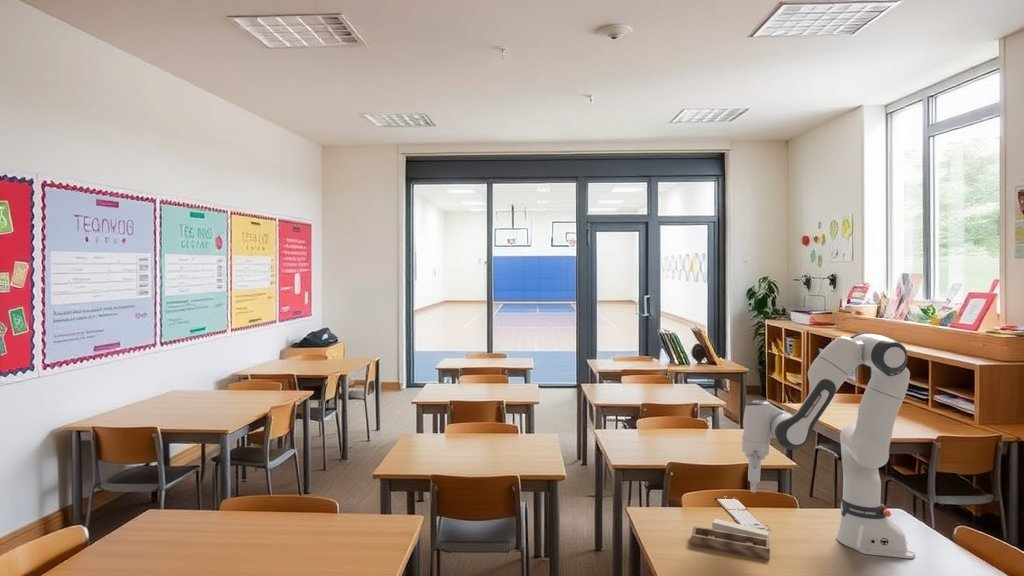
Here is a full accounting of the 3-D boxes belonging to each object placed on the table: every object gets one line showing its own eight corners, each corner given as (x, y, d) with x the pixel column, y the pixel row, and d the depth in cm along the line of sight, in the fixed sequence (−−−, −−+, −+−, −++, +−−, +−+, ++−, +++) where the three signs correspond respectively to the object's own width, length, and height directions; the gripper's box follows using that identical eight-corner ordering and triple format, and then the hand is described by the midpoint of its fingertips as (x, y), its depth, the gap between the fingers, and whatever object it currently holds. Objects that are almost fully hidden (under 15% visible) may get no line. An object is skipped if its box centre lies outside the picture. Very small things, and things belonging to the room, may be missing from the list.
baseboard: (739, 500, 241) (714, 499, 241) (739, 493, 241) (714, 492, 241) (771, 531, 211) (743, 531, 211) (772, 524, 211) (744, 523, 211)
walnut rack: (768, 549, 195) (769, 538, 195) (769, 559, 188) (769, 549, 188) (693, 536, 205) (693, 525, 204) (691, 545, 197) (691, 535, 197)
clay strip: (769, 542, 201) (769, 531, 201) (767, 547, 198) (767, 535, 198) (715, 529, 211) (715, 518, 211) (712, 533, 208) (712, 522, 208)
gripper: (765, 457, 192) (763, 499, 193) (765, 441, 211) (762, 480, 211) (745, 453, 195) (742, 495, 195) (746, 439, 213) (743, 476, 214)
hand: (753, 487), depth 203 cm, fingers open, 8 cm apart
